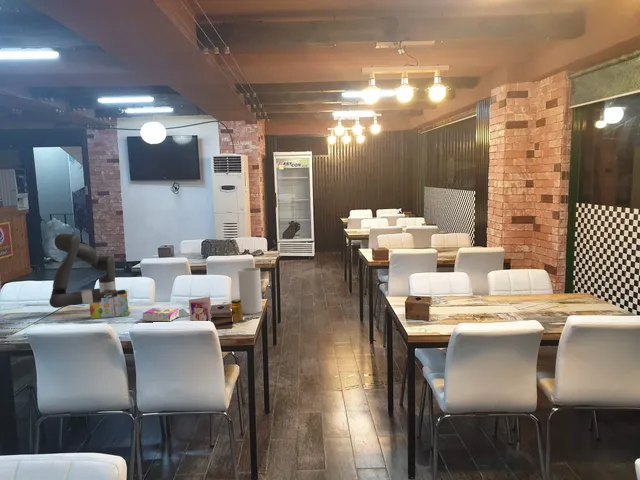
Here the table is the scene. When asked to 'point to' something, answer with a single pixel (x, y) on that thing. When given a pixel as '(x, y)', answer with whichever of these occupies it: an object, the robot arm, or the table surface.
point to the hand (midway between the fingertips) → (125, 291)
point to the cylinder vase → (250, 290)
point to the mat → (183, 313)
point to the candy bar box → (160, 314)
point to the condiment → (237, 312)
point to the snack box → (111, 307)
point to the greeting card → (200, 309)
